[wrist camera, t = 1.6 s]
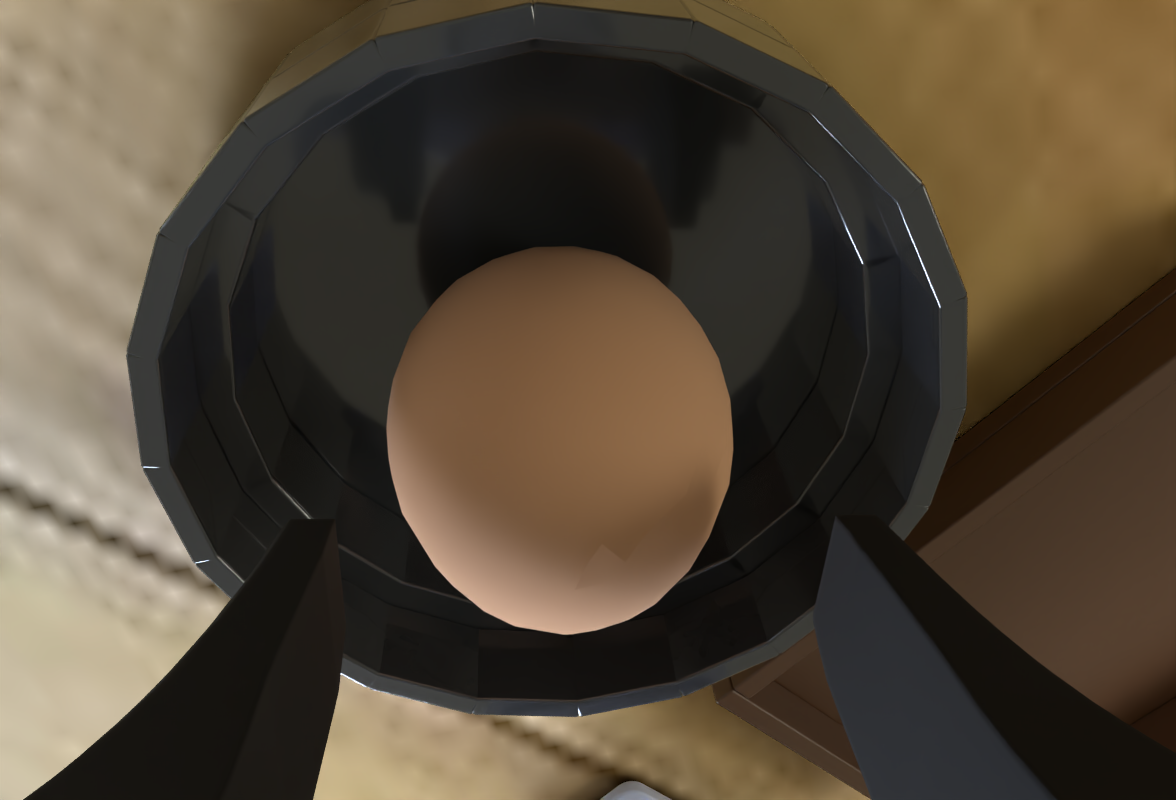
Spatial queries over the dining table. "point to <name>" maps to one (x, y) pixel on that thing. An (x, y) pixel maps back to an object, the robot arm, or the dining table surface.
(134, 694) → the dining table surface
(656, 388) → the egg
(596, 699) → the dark grey mixing bowl
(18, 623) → the dining table surface
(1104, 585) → the tray
